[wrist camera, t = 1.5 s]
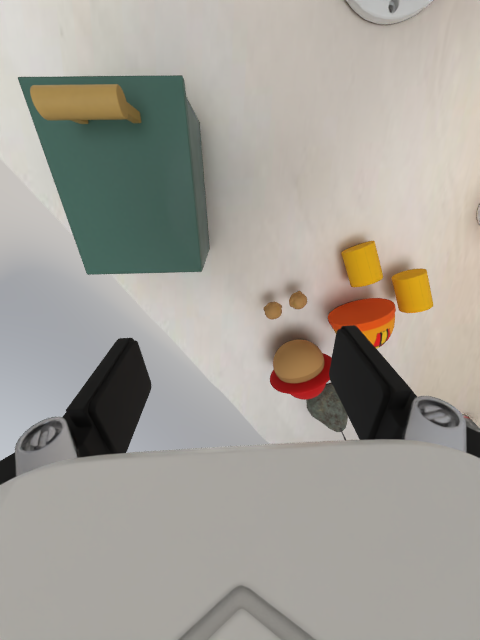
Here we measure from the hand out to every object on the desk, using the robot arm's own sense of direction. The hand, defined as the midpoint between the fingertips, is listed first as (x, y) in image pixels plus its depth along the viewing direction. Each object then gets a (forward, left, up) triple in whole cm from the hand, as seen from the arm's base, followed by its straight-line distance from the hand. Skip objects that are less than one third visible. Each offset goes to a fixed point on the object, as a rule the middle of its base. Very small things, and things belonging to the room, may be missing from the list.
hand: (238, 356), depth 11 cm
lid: (-7, -9, -15) cm, 19 cm away
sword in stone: (+32, +18, -24) cm, 44 cm away
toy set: (+11, +15, -24) cm, 31 cm away
